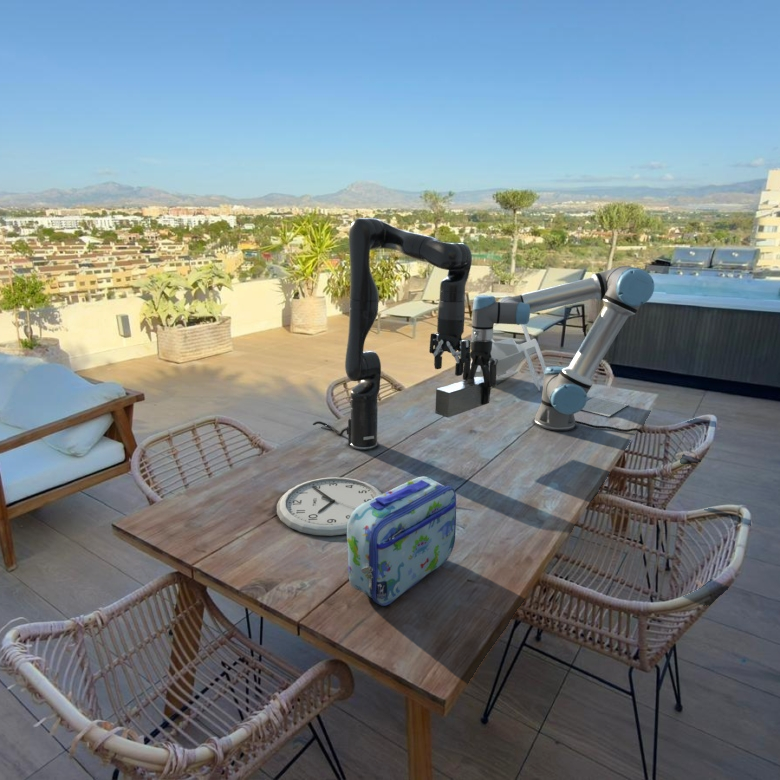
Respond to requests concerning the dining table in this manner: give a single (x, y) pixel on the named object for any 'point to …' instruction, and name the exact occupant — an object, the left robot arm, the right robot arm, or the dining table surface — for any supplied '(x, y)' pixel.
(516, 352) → the white plastic object
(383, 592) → the lunch box
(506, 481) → the dining table surface
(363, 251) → the left robot arm
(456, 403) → the box
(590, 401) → the invitation card
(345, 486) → the wall clock
